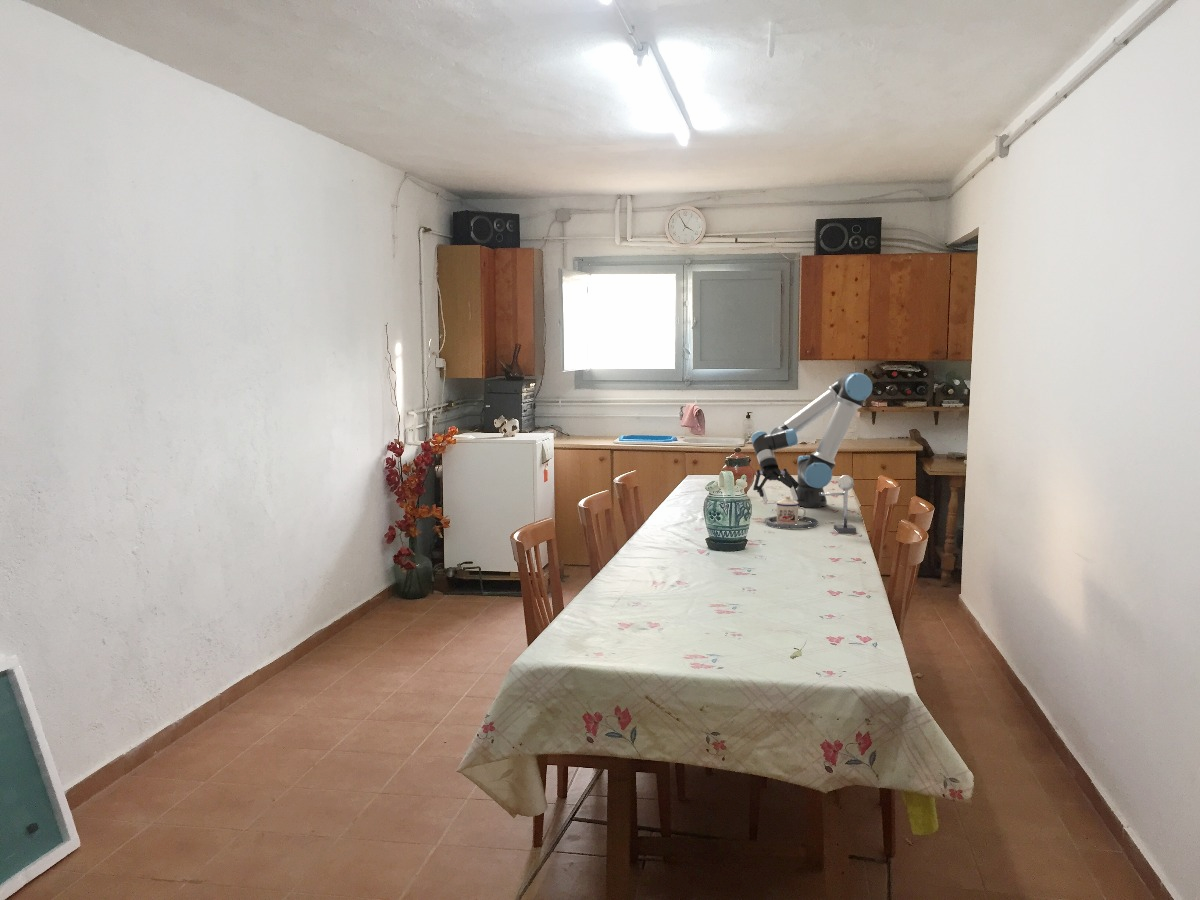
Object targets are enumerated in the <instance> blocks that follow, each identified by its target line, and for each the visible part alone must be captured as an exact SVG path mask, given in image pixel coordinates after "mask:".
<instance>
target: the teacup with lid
mask: <svg viewBox="0 0 1200 900" xmlns="http://www.w3.org/2000/svg"><path fill="white" fill-rule="evenodd" d="M798 505H799V503H798V502H797V501H794V500H793V498H791V496H790V495H785V496H784V498H782V499H780V500H777V501H776V516H777V520H776V523H778V524H787V525H795V524H797V525H799V524H798V523H799V520H798V519H802V518H803V517H806V514H807V512H806V509H805V508H806V507H800V506H798ZM799 510H803V514H802V517H798V516H799Z"/></svg>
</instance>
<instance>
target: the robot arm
mask: <svg viewBox="0 0 1200 900" xmlns="http://www.w3.org/2000/svg"><path fill="white" fill-rule="evenodd" d="M872 391H873V382H872V380H871V379H870V377H869V376H868V375H866V374H864V373H861V372H855V371H854V372H853V371H850V372H846V373H845V374H843V375H841V376H840V377H839V379H837V380H836V381H834V382H833V383H832V384H830V385H829V386H828V389H827V390H826V391H825V392H824V393H822V394H821V395H819V397H816V398H815V399H814V400H813V401H812V402H810V403H809V404H807V405H806V406H805V407H803V408H802V409H801V410H799V411H797V413H795V414H794V415H793V416H791V417H790V418H789V419H787V420H786V421H785V422H783V423H782V424H780V425H779V426H778V427H774V428H772V429H771V431H770V433H767V432H766V431H765V430H758V431H756V432H754V433H753V434H752V435H751V439H750V440H751V444H752V447H753V450H754V453H755V456H756V458H757V461H758V464H759V468H760V469H756V472H755V479H754V480H755V481H754V484H753V488H752V490H753V491H756V492H757V493H758V495H759V497H760V498H762V501H763V503H764V505H766V504H767V503H768V501H769V500H768V496H767V494H766V490H765V488H764V485H765V484H766V483H767V481H770V482H771V481H778V482H781V483H782V484H783V485H785V487H787V488H789V491H790V494H791V497H792V499H793V500H794V501H797V502H798V503H799V505H798V507H800V506H806V507H805V508H820V507H819V506H824V507H827V505H828V503H827V502H828V501H827V497H826V496H819V493H825V491H824V488H825V487H826V486H828V484H830V483H831V481H832V478H833V470H834V469H835V467H836V461H835V458H836V455H837V453H838V452H839V451H838V450H839V449H840V446H841V445H842V442H843V440H844V438H845V436H846V434H847V432H848V429H849V427H850V425H851V423H852V421H853V418H854V417H855V414H856V412H857V410H859V409H861V408H862V407H863V405H864V403H865V401H866V399H868V398H869V397H870V395H871V394H872ZM834 407H835V408H834ZM833 408H834V410H833V412H832V416H830V417H831V418H830V419H829V421H828V423H827V426H826V428H825V431H824V432H823V434H822V437H821V439H820V442H819V444H818V445H817V448H816V449H815V451H813V452H811V453H810V455H799V456H798V458H797V480H796V479H795V478H794V477H793V476H792V475H791V474H790V473H789V472H788V470H787V468H783V469H782V470H781V469H780V468H779V464H778V462H777V461H778V460H777V459H776V456H775V453H774V451H776V450H782V449H785V448H789V447H790V448H791V447H793V446H796V445H798V442H799V440H798V436H797V434H798V433H799V432H801V431H803V430H804V429H805V428H807V427H808V426H809V425H811V424H812V423H813V422H815V421H816V420H817V419H819V418H821V417H822V416H823V415H825V414H826V413H827V412H828V411H830V410H831V409H833ZM761 476H763V477H764V478H763V480H762V481H761V483H760V484H759V481H760V478H761Z"/></svg>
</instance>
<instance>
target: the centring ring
mask: <svg viewBox="0 0 1200 900" xmlns="http://www.w3.org/2000/svg"><path fill="white" fill-rule="evenodd" d="M802 516H803V515H802ZM802 516H801V515H798V517H802ZM773 520H776V521H777V515H775V516H768V517H767V518H765V519H764V524H765V526H767V525H768V526H767V527H771V526H773V527H772V528H775V527H778V528H777V529H783V528H807V529H809V528H808V527H814V526H816V525H817V524H818V525H819V521H818V519H816V518H812V517H808V516H804V517H803V518H802V519H799V520H798V521H801V520H806V521H805V522H807V521H811V522H812V523H811V522H808V523H805V524H804V523H803V524H797V525H787V524H778V523H777V522H775V521H773ZM770 521H771V522H770ZM818 525H817V526H818ZM817 526H816V527H817ZM779 527H780V528H779ZM814 528H815V527H814Z"/></svg>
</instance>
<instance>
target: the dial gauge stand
mask: <svg viewBox="0 0 1200 900" xmlns="http://www.w3.org/2000/svg"><path fill="white" fill-rule="evenodd" d="M854 485H855V481H854V478H853V477H852V476H850V475H848V474H844V475H843V474H842V475H841V476H840V477H839V478H838V480H837V486H838V487H839V489H841V490H843V492H824V493H819V496H843V499H842V500H843V501H842V502H843V503H842V505H843V508H842V524H833V530H834V529H835V530H836V531H837V532H838V534H857V527H856V526H854V525H853V524H848V505H849V504H848V502H849V501H848V500H849V499H848V497H849V494H848V493H849V491H850V490H851V489H853V487H854ZM835 530H834V531H835ZM836 531H835V532H836ZM837 532H836V533H837Z"/></svg>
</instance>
